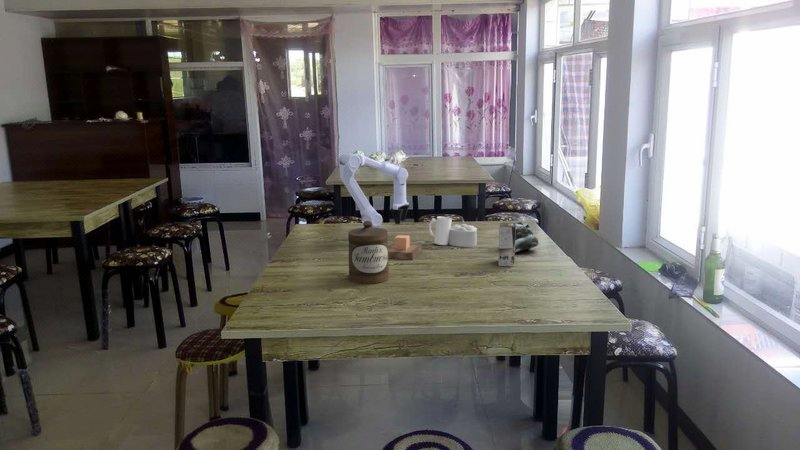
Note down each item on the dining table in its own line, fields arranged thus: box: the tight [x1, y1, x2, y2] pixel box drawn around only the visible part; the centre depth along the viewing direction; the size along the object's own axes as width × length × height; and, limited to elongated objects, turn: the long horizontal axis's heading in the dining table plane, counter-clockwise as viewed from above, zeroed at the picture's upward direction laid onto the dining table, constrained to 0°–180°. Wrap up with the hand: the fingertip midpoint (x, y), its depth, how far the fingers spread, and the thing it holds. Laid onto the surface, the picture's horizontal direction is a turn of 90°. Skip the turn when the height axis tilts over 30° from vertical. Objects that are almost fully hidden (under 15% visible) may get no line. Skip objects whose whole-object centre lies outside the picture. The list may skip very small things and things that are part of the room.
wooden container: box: [347, 221, 390, 285], centre depth 239 cm, size 15×15×22 cm
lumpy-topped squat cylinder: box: [448, 223, 478, 248], centre depth 292 cm, size 10×13×9 cm
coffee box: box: [498, 222, 517, 267], centre depth 259 cm, size 9×6×16 cm
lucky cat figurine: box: [515, 221, 539, 254], centre depth 280 cm, size 15×12×14 cm
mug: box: [428, 215, 453, 246], centre depth 292 cm, size 10×7×12 cm, turn 72°
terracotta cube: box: [394, 234, 411, 250], centre depth 274 cm, size 5×5×5 cm
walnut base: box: [388, 242, 423, 261], centre depth 275 cm, size 14×14×3 cm
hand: (400, 222), depth 296 cm, fingers open, 7 cm apart
